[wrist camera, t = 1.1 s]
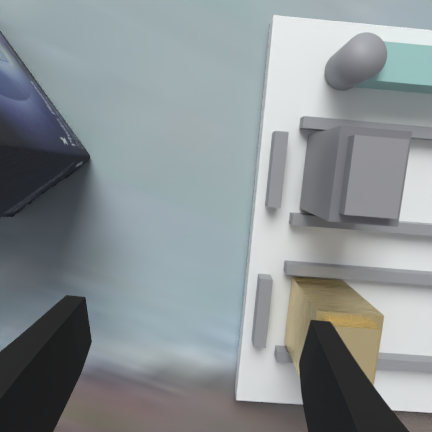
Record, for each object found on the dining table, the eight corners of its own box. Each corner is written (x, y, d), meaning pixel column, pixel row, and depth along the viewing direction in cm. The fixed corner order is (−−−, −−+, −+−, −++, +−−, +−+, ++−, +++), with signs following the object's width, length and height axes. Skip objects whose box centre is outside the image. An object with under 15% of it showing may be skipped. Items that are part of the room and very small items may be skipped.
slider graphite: (352, 212, 20) (405, 229, 15) (299, 207, 20) (333, 223, 15) (362, 140, 20) (420, 130, 14) (308, 135, 20) (345, 123, 14)
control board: (478, 404, 24) (505, 428, 22) (234, 388, 23) (237, 411, 21) (548, 50, 21) (588, 36, 19) (269, 24, 20) (276, 7, 18)
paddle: (449, 100, 20) (489, 89, 17) (322, 88, 20) (341, 76, 17) (455, 61, 19) (497, 44, 17) (327, 49, 19) (346, 30, 16)
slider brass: (334, 345, 22) (377, 407, 16) (284, 341, 21) (310, 403, 16) (343, 280, 21) (391, 321, 15) (291, 276, 21) (321, 316, 15)
